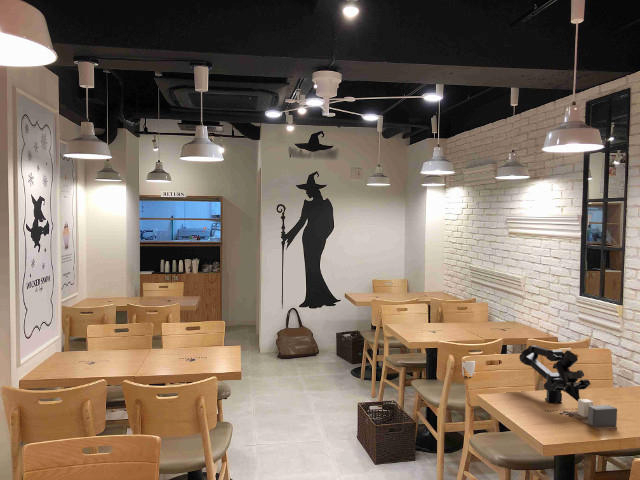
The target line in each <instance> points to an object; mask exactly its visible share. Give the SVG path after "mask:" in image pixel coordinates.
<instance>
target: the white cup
mask: <svg viewBox="0 0 640 480" xmlns="http://www.w3.org/2000/svg"><path fill="white" fill-rule="evenodd" d="M463 367H464V368H465V370H466V371H467V372H468V373H469V375H470V376H472V375H473V373H474V374H475V371H474V370H476V360H475V361H465V363H464V362H462V361H461V371H462V372H461V373H462V375H461V376H462V377H464V370H463Z"/></svg>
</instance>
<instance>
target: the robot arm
mask: <svg viewBox="0 0 640 480" xmlns="http://www.w3.org/2000/svg"><path fill="white" fill-rule="evenodd" d="M539 356H543V357H545V358H546V359H547V360H548V361H550V362H554V363H553V365H552V369H556V371H557V372H552V371H551V370H550V369H549V368H548V367H546V366H545V365H543V364H542V362H540V361H539V360H538V357H539ZM519 361H520V362H521V363H522V364H523V365H526V366H530V367H531V368H532V369H533V370H534V371H535V372H536V373H538V374H539V375H540V376H542V378H544V379H545V383H543V388H544V389H545V390H546V397H545V398H544V399H545V400H546V401H547V402H548V403H549V404H563V402H562V401H563V394H562V392H564V393H566V394H567V395H569V396H570V397H571V398H572V399H574V400H575V401H576V402H578V399H580V398H581V397H580V390H586V389H587V388H588V387H589V386H590V385H591V382H590V380H588V379H583V378H584V377H585V374H584V371H583V370H582V369H578V370H576V371H573V370H571V369H570V368H571V367H573V365H575V364H576V363H577V362H578V356H577V355H576V354H575V353H574V352H572V351H571V350H566V351H565V352H564V351H563V350H562V349H549V348H547V347H546V348H545V347H542V346H539V345H529V346H528V348H526V349H524V350H523V351H522V352H521V353H520V354H519ZM579 379H580V380H579Z"/></svg>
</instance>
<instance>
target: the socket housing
mask: <svg viewBox="0 0 640 480" xmlns="http://www.w3.org/2000/svg"><path fill="white" fill-rule="evenodd" d="M617 419H618V408H617V407H614V406H613V405H610V404H601V405H600V404H599V405H593V406H588V423H589V424H591V425H592V426H594V427H607V426H617V425H618V424H617V423H618V422H617V421H618V420H617Z"/></svg>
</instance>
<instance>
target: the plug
mask: <svg viewBox="0 0 640 480" xmlns="http://www.w3.org/2000/svg"><path fill="white" fill-rule="evenodd" d="M588 406H594V401H593V400H590V399H589V398H581V399H578V401H577V411H578V414H579V415H581V416H583V417H588Z"/></svg>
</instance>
